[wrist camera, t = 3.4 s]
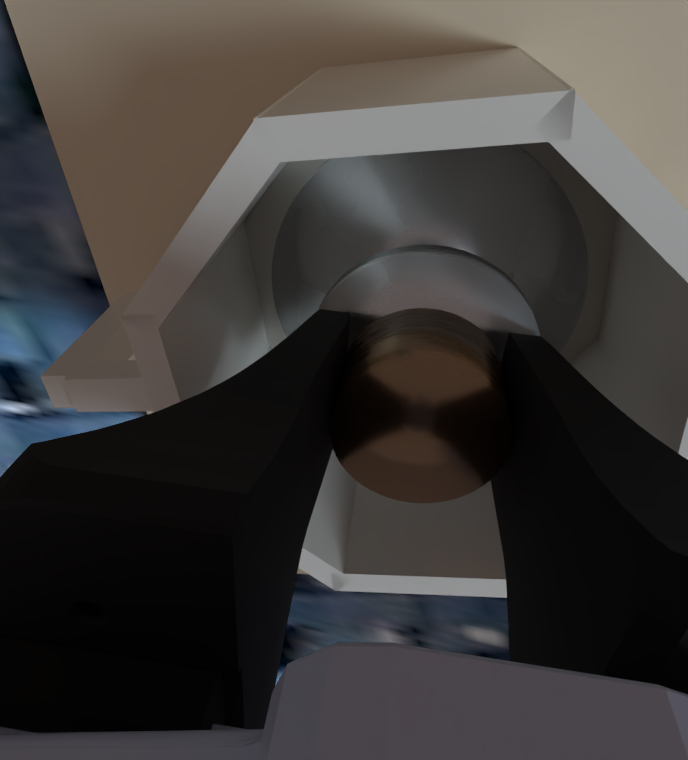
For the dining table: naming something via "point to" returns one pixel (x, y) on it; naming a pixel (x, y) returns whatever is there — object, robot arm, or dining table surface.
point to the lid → (430, 303)
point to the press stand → (350, 139)
